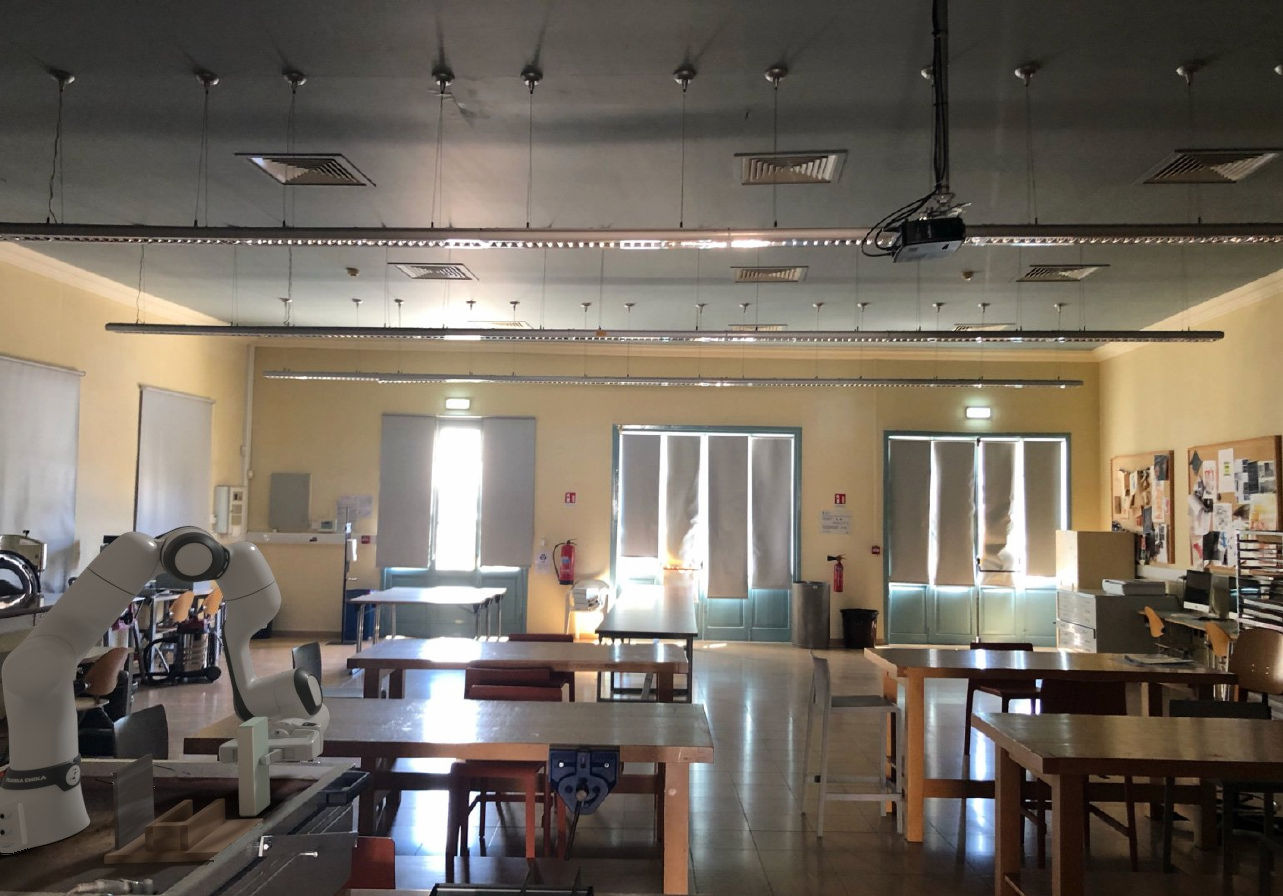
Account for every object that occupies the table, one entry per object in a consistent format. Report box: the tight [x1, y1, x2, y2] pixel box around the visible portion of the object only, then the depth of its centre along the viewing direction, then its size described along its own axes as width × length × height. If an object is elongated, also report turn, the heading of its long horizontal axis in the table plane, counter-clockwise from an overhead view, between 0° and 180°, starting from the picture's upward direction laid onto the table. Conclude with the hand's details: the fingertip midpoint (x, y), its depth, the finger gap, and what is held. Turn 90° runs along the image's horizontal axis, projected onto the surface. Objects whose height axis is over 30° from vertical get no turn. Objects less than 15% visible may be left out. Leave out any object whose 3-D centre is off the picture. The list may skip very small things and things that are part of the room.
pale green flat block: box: [236, 717, 271, 817], centre depth 167 cm, size 3×6×18 cm, turn 177°
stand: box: [103, 753, 264, 865], centre depth 154 cm, size 22×14×16 cm, turn 87°
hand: (252, 761), depth 166 cm, fingers closed on pale green flat block, 3 cm apart
